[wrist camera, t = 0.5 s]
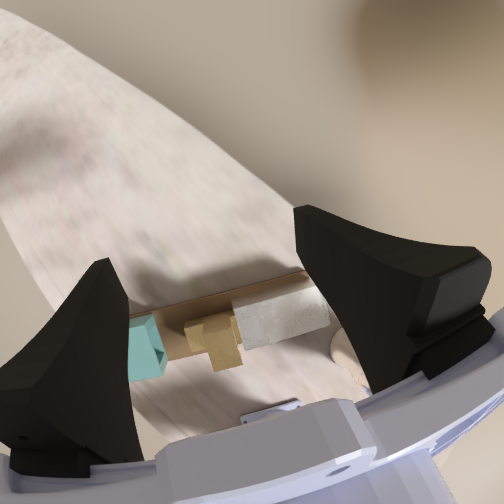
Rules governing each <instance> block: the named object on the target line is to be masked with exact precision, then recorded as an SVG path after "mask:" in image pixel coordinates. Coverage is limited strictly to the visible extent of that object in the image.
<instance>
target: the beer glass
mask: <svg viewBox="0 0 504 504" xmlns="http://www.w3.org/2000/svg"><path fill="white" fill-rule="evenodd" d="M330 353H331V357H332V359H333V361H334V362H335V363H336V364H337V365H339V366H341V367H343V368H345V369H347V370H348V371H349V372H350V374H351V376H352V378H353V380H354V382H355V384H356V386H357V388H358V389H359V391H360V392H361V394H362V395H363V397H364V398H365V399H366V398H368V397H370V396H372V392H371V390H370V387H369V384H368V382H367V379H366V377H365V374H364V372H363V370H362V367H361V365H360V362H359V360H358V358H357V356H356V354H355V351H354V349H353V347H352V345H351V343H350V341H349V339H348V337H347V335H346V333H345V331H344V329H343V327H342V328H340V329H339V330H338V331H337V332H336V334H335V335H334V337H333V339H332V341H331V345H330Z"/></svg>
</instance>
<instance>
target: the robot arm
mask: <svg viewBox="0 0 504 504" xmlns="http://www.w3.org/2000/svg"><path fill="white" fill-rule="evenodd" d="M293 211H294V224H295V238H296V252H297V254H298V256H299V258H300V260H301V262H302V264H303V266H304V268H305V270H306V272H307V273H308V275H309V276H310V278H311V279H312V281H313V282H314V284H315V285H316V287H317V288H318V289H319V291H320V292H321V294H322V295H323V297H324V298H325V299H326V301H327V302H328V304H329V305H330V307H331V308H332V310H333V311H334V313H335V314H336V316H337V318H338V319H339V321H340V323H341V325H342V327H343V329H344V331H345V333H346V335H347V337H348V339H349V341H350V343H351V345H352V347H353V349H354V351H355V354H356V356H357V358H358V360H359V362H360V365H361V367H362V370H363V372H364V374H365V377H366V379H367V382H368V384H369V387H370V390H371V392H372V396H370V397H368V398H366V399H363V400H361V401H359V402H357V403H353V401H352V400H347V399H336V398H330V399H327V400H323V401H319V402H315V403H311V404H307V405H305V406H302V403H301V401H300V400H295V401H292V402H289V403H285V404H282V405H279V406H275V407H272V408H268V409H265V410H261V411H257V412H254V413H250V414H246V415H242V416H241V417H240V421H241V424H242V425H240V426H236V427H232V428H228V429H224V430H220V431H216V432H212V433H207V434H203V435H198V436H193V437H189V438H186V439H183V440H179V441H176V442H173V443H169V444H168V445H167V446H165V447H164V448H163V449H162V450H161V451H159V452H158V454H156V455H155V460H148V461H144V457H143V454H142V450H141V447H140V443H139V439H138V435H137V430H136V426H135V421H134V416H133V410H132V404H131V397H130V389H129V380H128V347H129V323H130V318H129V304H128V297H127V295H126V293H125V291H124V289H123V287H122V285H121V283H120V280H119V278H118V276H117V274H116V272H115V270H114V268H113V266H112V264H111V261H110V259H109V257H108V258H105V259H101V260H98V261H95V262H94V263H93V264H92V265H91V266H90V267H89V268H88V270H87V271H86V272H85V274H84V275H83V276H82V278H81V279H80V280H79V282H78V283H77V285H76V286H75V287H74V289H73V290H72V291H71V293H70V294H69V296H68V297H67V298H66V299H65V301H64V302H63V303H62V305H61V306H60V307H59V309H58V310H57V311H56V313H55V314H54V315H53V317H52V318H51V319H50V320H49V321H48V322H47V324H46V325H45V326H44V327H43V328H42V329H41V330H40V331H39V333H38V334H37V335H36V336H35V337H34V338H33V339H32V340H31V341H30V342H29V343H28V344H27V345H26V346H25V347H24V348H23V349H22V350H21V351H20V352H18V353H17V354H16V355H15V356H14V357H13V358H12V359H11V360H9V361H8V362H7V363H6V364H4V365H3V366H2V367H1V368H0V442H2V443H3V444H5V445H6V446H8V447H9V448H11V453H10V456H8V455H5V454H2V453H0V504H457V502H456V500H455V498H454V497H453V495H452V493H451V491H450V489H449V487H448V486H447V484H446V482H445V480H444V479H443V477H442V475H441V473H440V471H439V469H438V468H437V466H436V464H435V462H434V461H433V459H432V458H433V457H434V456H436V455H437V454H439V453H440V452H441V451H443V450H444V449H446V448H447V447H449V446H450V445H451V444H453V443H454V442H455V441H457V440H458V439H459V438H461V437H462V436H463V435H465V434H466V433H467V432H469V431H470V430H471V429H472V428H474V427H475V426H476V425H477V424H478V423H480V422H481V421H482V420H483V419H485V418H486V417H487V416H488V415H489V414H490V413H492V412H493V411H494V410H495V409H496V408H497V407H498V406H499V405H501V404H502V403H503V402H504V307H503V308H502V309H500V310H499V311H497V312H496V313H495V314H494V315H492V317H491V318H490V319H489V320H487V319H486V318H485V317H484V316H483V314H485V308H484V307H483V306H482V305H481V304H480V302H481V300H482V297H483V295H484V293H485V290H486V288H487V285H488V283H489V280H490V276H491V270H492V267H491V262H490V260H489V259H488V258H487V257H486V256H484V255H483V254H482V253H481V252H480V251H479V250H477V249H476V248H475V247H470V246H448V245H439V244H431V243H424V242H418V241H413V240H408V239H404V238H399V237H395V236H392V235H388V234H385V233H381V232H378V231H374V230H372V229H369V228H366V227H364V226H361V225H358V224H355V223H353V222H350V221H348V220H345V219H343V218H341V217H338V216H336V215H334V214H331V213H329V212H326V211H324V210H322V209H319V208H317V207H314V206H310V205H305V206H300V207H296V208H293ZM297 406H299V407H298V408H297ZM244 421H247V422H245V423H244Z"/></svg>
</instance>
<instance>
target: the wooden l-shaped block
mask: <svg viewBox="0 0 504 504" xmlns="http://www.w3.org/2000/svg"><path fill="white" fill-rule="evenodd" d="M184 331H185V334H186V337H187V340H188V343H189V346H190V349H191V352H195V351H199V350H204V349H207V351H208V354H209V357H210V360H211V363H212V366H213V369H214V372H216V371H220V370H224V369H228V368H232V367H236V366H240V365H243V363H242V359H241V355H240V351H239V347H238V343H237V341H239V340H242V339H241V336H240V332H239V328H238V325H237V321H236V318H235V314H234V310H230V311H226V312H222V313H218V314H214V315H210V316H206V317H202V318H198V319H194V320H190V321H186V323H185V327H184Z"/></svg>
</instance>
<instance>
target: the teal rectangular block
mask: <svg viewBox="0 0 504 504" xmlns="http://www.w3.org/2000/svg"><path fill="white" fill-rule="evenodd" d="M167 361H168V358H167V355H166V352H165V349H164V346H163V343H162V340H161V337H160V334H159V331H158V328H157V325H156V322H155V319H154V316H153V314H149V315H145V316H141V317H136V318H132V319H130V323H129V347H128V380H129V382H133V381H139V380H145V379H150V378H155V377H160V376H163V373H164V370H165V367H166V364H167Z"/></svg>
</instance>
